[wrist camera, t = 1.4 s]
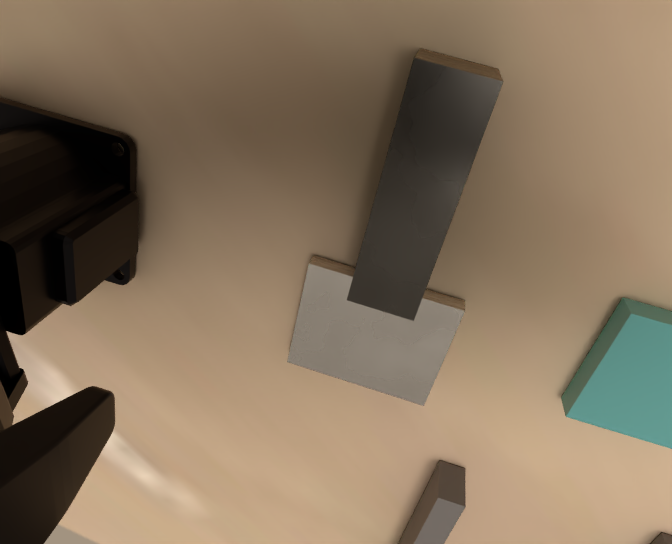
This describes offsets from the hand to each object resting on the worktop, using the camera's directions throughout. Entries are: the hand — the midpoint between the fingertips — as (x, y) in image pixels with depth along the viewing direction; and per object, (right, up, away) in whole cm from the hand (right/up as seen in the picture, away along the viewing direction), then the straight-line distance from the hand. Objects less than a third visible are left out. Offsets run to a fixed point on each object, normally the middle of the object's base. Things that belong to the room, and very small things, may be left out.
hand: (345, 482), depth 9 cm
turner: (+2, +5, +10) cm, 11 cm away
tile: (+12, 0, +10) cm, 16 cm away
